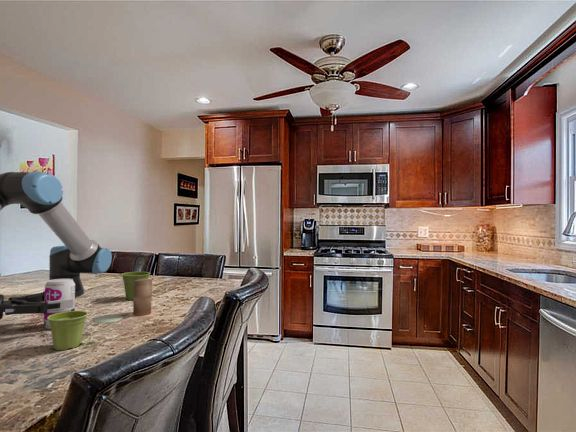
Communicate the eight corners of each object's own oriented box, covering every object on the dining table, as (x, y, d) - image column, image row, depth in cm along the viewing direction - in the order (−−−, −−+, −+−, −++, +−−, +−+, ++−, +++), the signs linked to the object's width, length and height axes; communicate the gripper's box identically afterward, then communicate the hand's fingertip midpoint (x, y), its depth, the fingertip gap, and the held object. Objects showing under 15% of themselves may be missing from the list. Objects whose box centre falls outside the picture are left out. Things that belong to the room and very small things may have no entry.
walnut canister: (131, 312, 119) (132, 279, 119) (148, 310, 122) (149, 278, 123) (135, 316, 114) (136, 282, 114) (153, 314, 118) (153, 280, 118)
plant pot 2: (142, 302, 139) (143, 275, 140) (115, 301, 140) (115, 275, 140) (154, 295, 151) (154, 271, 151) (129, 295, 152) (129, 271, 152)
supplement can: (58, 331, 102) (59, 283, 103) (37, 328, 104) (38, 281, 104) (80, 323, 110) (81, 278, 111) (59, 321, 112) (60, 277, 112)
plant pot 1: (59, 340, 95) (60, 310, 95) (93, 339, 95) (94, 310, 96) (37, 353, 85) (38, 320, 85) (75, 352, 86) (76, 319, 86)
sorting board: (89, 318, 115) (89, 315, 115) (149, 310, 127) (149, 306, 127) (96, 331, 102) (96, 327, 102) (161, 320, 115) (161, 316, 115)
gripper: (-10, 311, 106) (68, 302, 119) (-22, 333, 86) (74, 319, 99) (-10, 288, 106) (68, 281, 119) (-21, 304, 87) (74, 294, 99)
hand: (71, 298), depth 109 cm, fingers open, 13 cm apart
